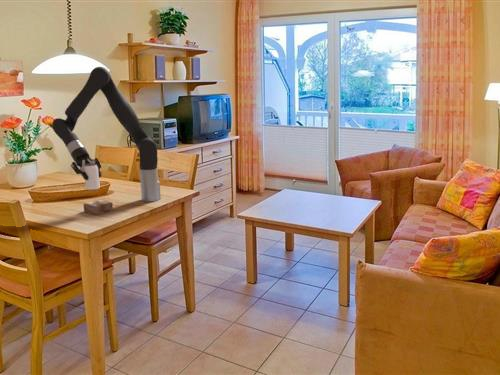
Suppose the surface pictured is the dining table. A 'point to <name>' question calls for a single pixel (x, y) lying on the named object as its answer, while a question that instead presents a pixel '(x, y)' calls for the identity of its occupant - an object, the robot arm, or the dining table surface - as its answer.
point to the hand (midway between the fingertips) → (93, 177)
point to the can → (92, 176)
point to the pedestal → (98, 207)
